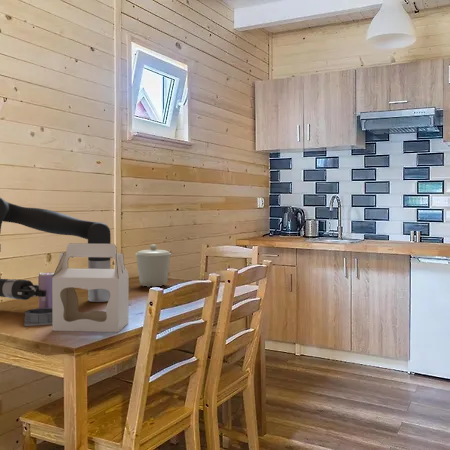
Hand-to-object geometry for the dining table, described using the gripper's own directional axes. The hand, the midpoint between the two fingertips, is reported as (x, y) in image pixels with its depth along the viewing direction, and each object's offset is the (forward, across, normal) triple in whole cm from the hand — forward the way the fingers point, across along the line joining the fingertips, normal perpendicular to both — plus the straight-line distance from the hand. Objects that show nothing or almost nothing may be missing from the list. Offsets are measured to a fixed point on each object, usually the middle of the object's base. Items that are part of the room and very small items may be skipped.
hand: (51, 292), depth 195 cm
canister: (-2, +74, +8) cm, 75 cm away
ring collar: (+6, -11, +8) cm, 15 cm away
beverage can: (-2, 0, +8) cm, 9 cm away
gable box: (+27, -11, +8) cm, 30 cm away
